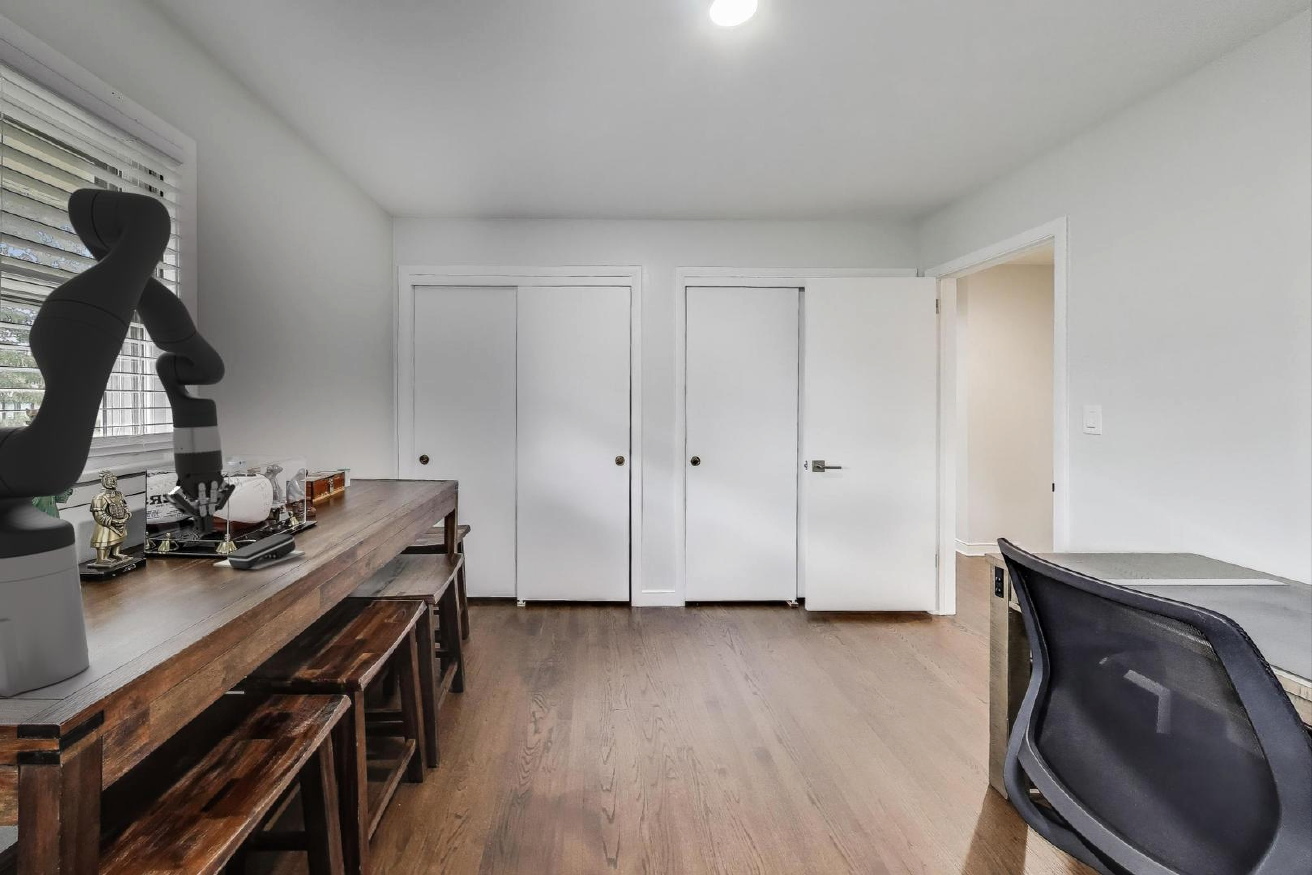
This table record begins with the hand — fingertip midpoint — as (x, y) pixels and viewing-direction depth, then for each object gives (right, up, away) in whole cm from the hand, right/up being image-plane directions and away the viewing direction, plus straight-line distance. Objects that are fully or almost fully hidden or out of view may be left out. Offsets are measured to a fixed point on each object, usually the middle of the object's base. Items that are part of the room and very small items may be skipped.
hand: (205, 533), depth 116 cm
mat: (+3, -8, +12) cm, 14 cm away
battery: (+4, -7, +4) cm, 9 cm away
